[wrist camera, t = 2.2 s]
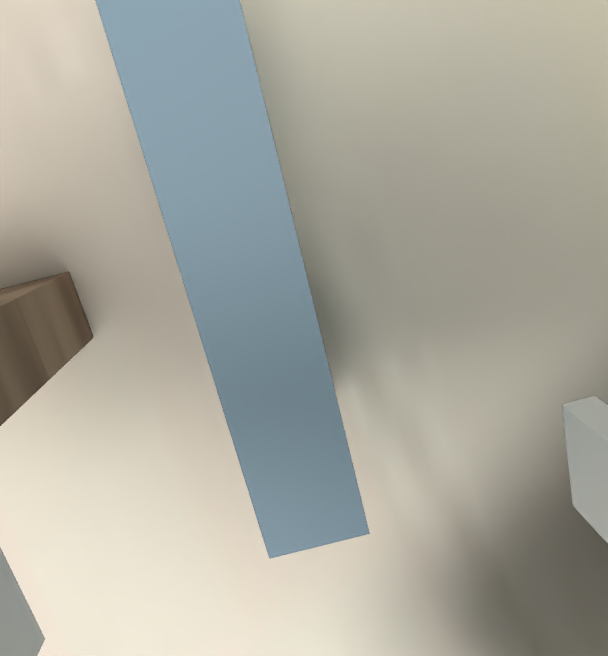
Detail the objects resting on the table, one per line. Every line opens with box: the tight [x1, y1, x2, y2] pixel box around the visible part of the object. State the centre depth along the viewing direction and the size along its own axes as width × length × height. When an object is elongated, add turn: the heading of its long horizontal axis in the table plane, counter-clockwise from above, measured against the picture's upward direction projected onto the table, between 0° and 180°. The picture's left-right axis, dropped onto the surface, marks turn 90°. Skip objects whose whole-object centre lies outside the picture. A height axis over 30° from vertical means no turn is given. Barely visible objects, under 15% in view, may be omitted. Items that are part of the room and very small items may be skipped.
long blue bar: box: [96, 0, 370, 559], centre depth 18 cm, size 3×16×10 cm, turn 14°
